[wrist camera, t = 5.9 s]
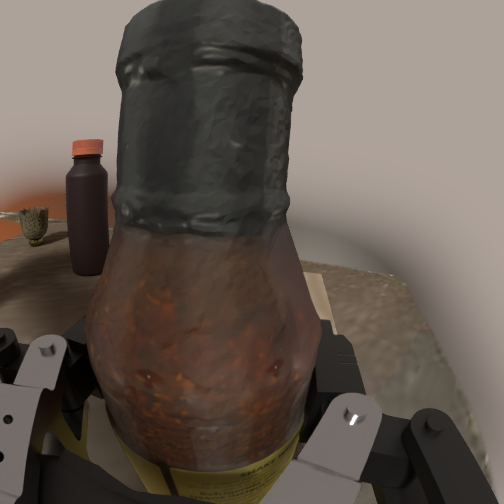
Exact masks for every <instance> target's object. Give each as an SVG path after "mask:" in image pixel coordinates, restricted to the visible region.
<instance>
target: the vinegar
mask: <svg viewBox="0 0 504 504" xmlns="http://www.w3.org/2000/svg"><path fill="white" fill-rule="evenodd" d="M101 154H103V140H100V139H90V140H78V141H74V142H73V148H72V156H74V157H73V158H72V159H74V166H73V167H72V168H71V170H70V171H69V172H68V173H67V175H66V209H67V225H68V237H69V247H70V256H71V264H72V269H73V272H75V273H76V274H78V275H82V276H93V275H98V274H101V273H102V271H103V267H104V264H105V260H106V256H107V253H108V249H109V230H108V196H107V195H108V192H107V191H108V189H107V188H108V185H107V184H108V174H107V171H106V170H105V169H104V168H103V167H102V165H101V164H100V157H102V156H101Z"/></svg>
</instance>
